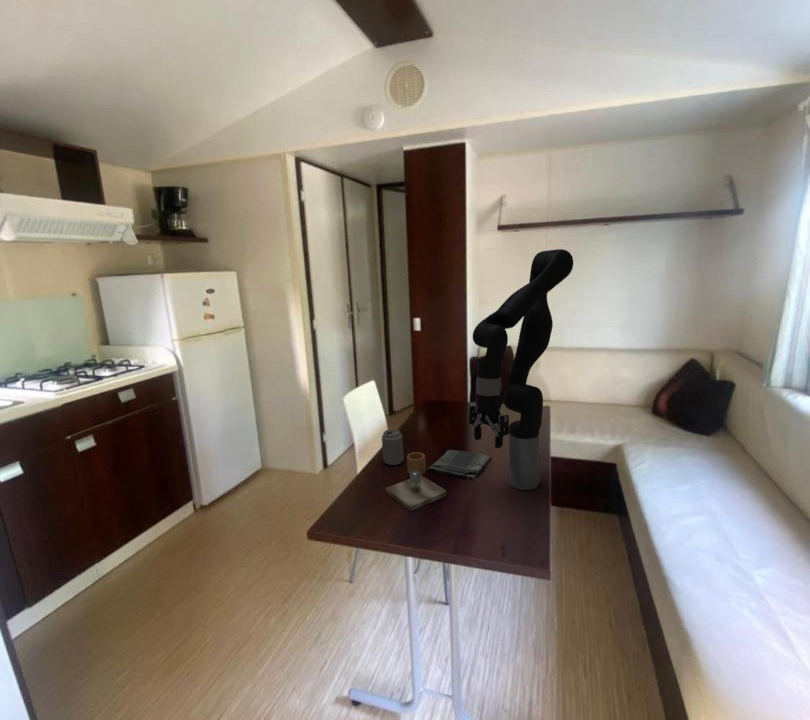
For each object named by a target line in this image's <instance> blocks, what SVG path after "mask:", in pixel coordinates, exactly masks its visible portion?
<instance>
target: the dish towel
mask: <svg viewBox="0 0 810 720" xmlns="http://www.w3.org/2000/svg"><path fill="white" fill-rule="evenodd" d="M492 459H493V458H492V456H490V455H487V454H482V453H477V452H476V453H475V452H470V451H464V450H463V451H462V450H455V449H447V450H446V452H445V453H444V454H442V456H441V457H440V458H438V459H437V460H436V461H435V462H434V463H433V464H431V465H430V466H429V467H427V471H428V472H429V471H431V472H433V473H437V474H441V475H445V476H448V475H447V474H450V475H454V476H455V477H454V478H458V476H460V477H465V478H464V479H467V477H469V478H471V479H472V480H473V481H474V480H475V479H476V478H477V477H478V476H479V474H480V473H481V472H482V471H483V469H485V467H486V466H488V464H489V463H490V460H491V461H492ZM488 462H489V463H488ZM487 463H488V464H487ZM481 470H482V471H481ZM450 475H449V476H450ZM477 475H478V476H477ZM456 476H457V477H456ZM476 476H477V477H476ZM471 479H470V480H471ZM472 480H471V481H472Z"/></svg>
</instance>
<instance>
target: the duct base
mask: <svg viewBox="0 0 810 720" xmlns="http://www.w3.org/2000/svg"><path fill="white" fill-rule="evenodd" d="M420 483H421V490H420V491H419V492H412V491H411V485H410V478H409V479H406V480H403V481H401V482H398V483H396V484H393V485H390V486H387V487H386V488H385V493H386V494H387V495H389V496H390V497H391V498H393V499H394V500H395V501H396V502H398V503H399V504H400V505H402V506H403V507H404V508H406V509H407V510H408V511H409V512H412V511H414V510H417V509H419V508H422V507H424V506H426V505H428V504H430V503H433V502H435V501H439V500H440V499H442V498H445V497H447V496H448V491H447V490H446V489H444V488H443V487H441V486H440V485H438V484H436V483H435V482H433V481H431V479H430V480H429V479H428V478H426V477H425V476H423V475H420Z"/></svg>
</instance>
